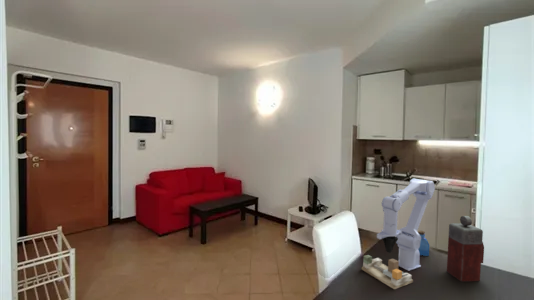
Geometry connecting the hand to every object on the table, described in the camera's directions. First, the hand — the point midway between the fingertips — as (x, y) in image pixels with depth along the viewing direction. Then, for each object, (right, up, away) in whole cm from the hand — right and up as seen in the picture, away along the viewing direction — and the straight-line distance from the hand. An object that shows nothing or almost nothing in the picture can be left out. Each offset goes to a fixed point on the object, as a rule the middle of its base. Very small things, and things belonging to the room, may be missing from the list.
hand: (388, 251), depth 123 cm
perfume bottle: (+28, -10, +22) cm, 37 cm away
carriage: (0, -8, -5) cm, 9 cm away
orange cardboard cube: (-1, -7, -10) cm, 12 cm away
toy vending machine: (+35, -11, -1) cm, 37 cm away
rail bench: (-2, -11, -1) cm, 11 cm away
